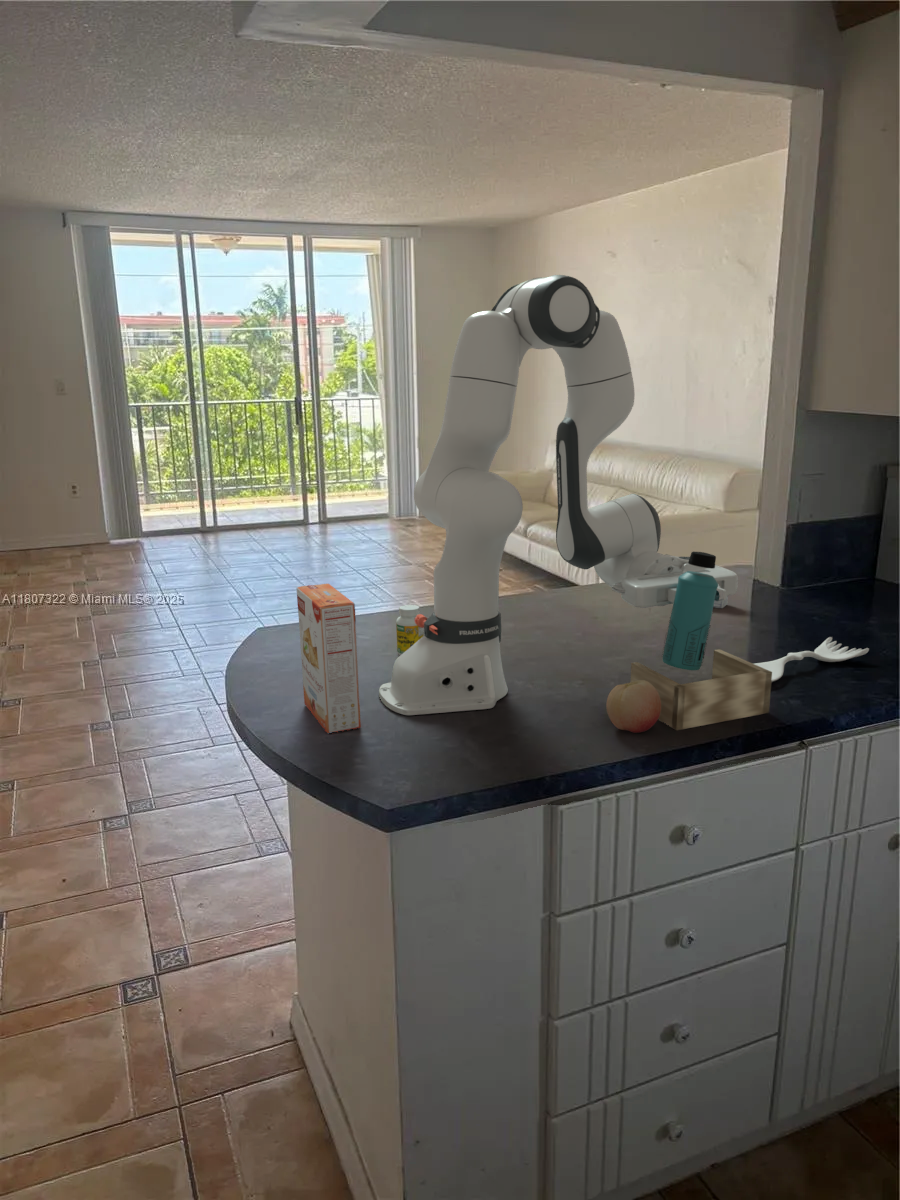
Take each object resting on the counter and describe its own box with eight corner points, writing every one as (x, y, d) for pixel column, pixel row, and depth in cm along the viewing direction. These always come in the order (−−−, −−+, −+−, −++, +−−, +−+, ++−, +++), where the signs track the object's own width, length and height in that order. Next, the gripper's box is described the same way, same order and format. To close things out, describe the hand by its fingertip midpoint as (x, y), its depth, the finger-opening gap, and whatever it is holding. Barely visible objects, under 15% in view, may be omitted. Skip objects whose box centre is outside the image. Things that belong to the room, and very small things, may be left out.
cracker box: (301, 705, 148) (294, 585, 143) (336, 700, 150) (330, 581, 145) (324, 736, 136) (318, 605, 130) (362, 729, 138) (356, 601, 133)
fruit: (627, 715, 142) (629, 669, 140) (669, 730, 136) (672, 681, 134) (596, 729, 137) (597, 681, 135) (637, 744, 131) (640, 694, 129)
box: (676, 730, 136) (678, 688, 134) (629, 702, 148) (631, 662, 146) (768, 712, 142) (772, 672, 141) (716, 687, 154) (719, 649, 152)
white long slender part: (869, 663, 166) (871, 646, 165) (748, 695, 151) (750, 676, 150) (828, 651, 174) (830, 634, 173) (710, 680, 159) (711, 661, 158)
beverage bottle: (699, 682, 138) (726, 558, 135) (657, 673, 140) (682, 550, 136) (699, 673, 145) (725, 554, 141) (659, 664, 146) (683, 547, 142)
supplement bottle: (428, 651, 176) (427, 605, 173) (417, 659, 171) (416, 611, 169) (404, 648, 178) (403, 602, 176) (392, 656, 173) (391, 609, 171)
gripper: (606, 568, 147) (655, 586, 135) (706, 555, 155) (761, 572, 142) (606, 604, 149) (653, 625, 137) (704, 590, 156) (758, 609, 144)
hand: (709, 598), depth 139 cm, fingers open, 4 cm apart
